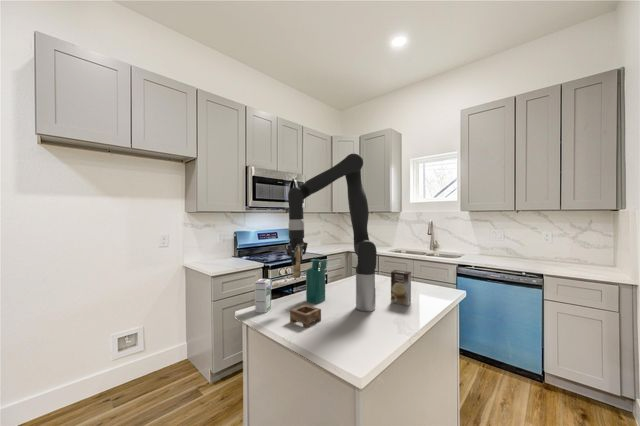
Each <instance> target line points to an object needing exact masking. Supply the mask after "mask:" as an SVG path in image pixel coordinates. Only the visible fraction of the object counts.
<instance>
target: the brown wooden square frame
mask: <svg viewBox="0 0 640 426" xmlns="http://www.w3.org/2000/svg"><path fill="white" fill-rule="evenodd" d="M321 321H322V309H321V308H318V307H315V306H311V305H308V304H302V305H301V306H298V307H295V308H293V309H289V322H290V323H291V324H295V323H296V322H299V323H302V327H303V328H305V329H307V328H309V327H310V323H312V322H317V323H319V322H321Z"/></svg>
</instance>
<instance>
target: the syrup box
mask: <svg viewBox="0 0 640 426" xmlns="http://www.w3.org/2000/svg"><path fill="white" fill-rule="evenodd" d="M271 289H272V288H271V278H259V279H258V280H256V281H254V304H255V305H254V308H255V313H256V312H257V313H268V312H269V310H271V308H272V299H271V298H272V295H271V294H272V293H271V291H272V290H271Z"/></svg>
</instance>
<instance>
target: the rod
mask: <svg viewBox="0 0 640 426" xmlns="http://www.w3.org/2000/svg"><path fill="white" fill-rule="evenodd" d="M293 251H295V250H293ZM293 255H294V252H293ZM292 266H293V267H292V270H293V271H292V272H293V273H292V274H293V276H292V277H293V279H300V278H301V264H300V244H299V245H298V249H297V253H296V265H292Z"/></svg>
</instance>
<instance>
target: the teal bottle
mask: <svg viewBox="0 0 640 426" xmlns="http://www.w3.org/2000/svg"><path fill="white" fill-rule="evenodd" d="M310 262H311V267H309V268H307V269H306V271H305V286H306V287H305V288H306V290H305V296H306V297H305V300H306V302H308V303H314V304H320V303H322V302H325V300H326V268H327V262H328V261H327V259H322V260H321V259H318V258H313V259H310Z"/></svg>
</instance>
